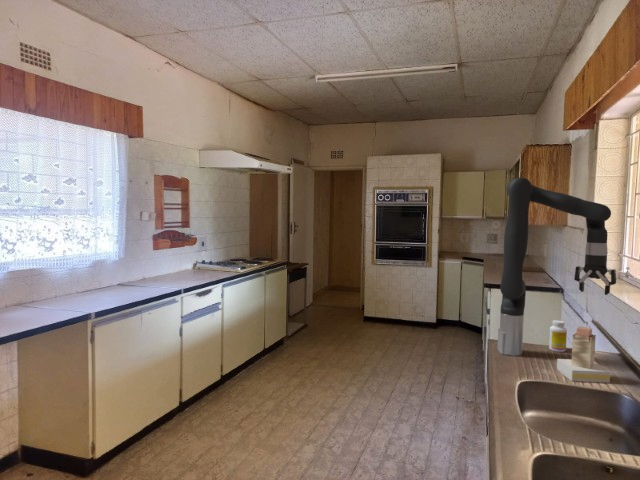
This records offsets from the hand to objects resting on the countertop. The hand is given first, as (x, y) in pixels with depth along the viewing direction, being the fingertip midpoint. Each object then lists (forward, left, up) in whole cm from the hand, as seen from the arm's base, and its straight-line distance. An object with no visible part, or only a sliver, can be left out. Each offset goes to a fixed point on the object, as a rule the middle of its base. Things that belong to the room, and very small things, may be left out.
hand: (594, 293), depth 176 cm
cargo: (-12, -18, -14) cm, 26 cm away
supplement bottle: (-8, +12, -28) cm, 32 cm away
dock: (-12, -18, -28) cm, 35 cm away
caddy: (-12, -18, -24) cm, 32 cm away
